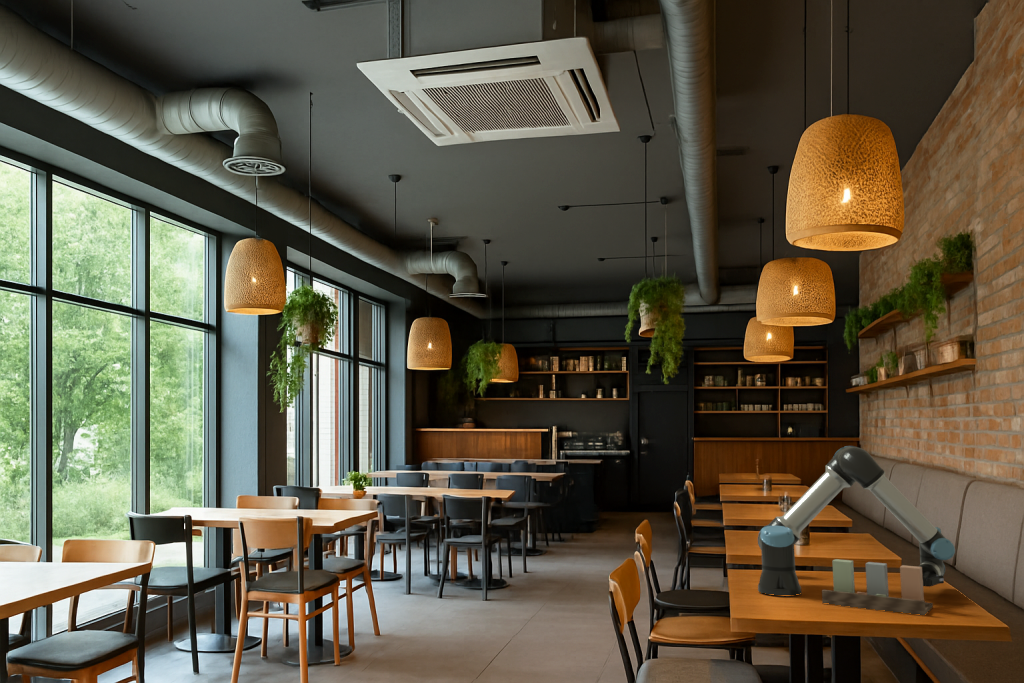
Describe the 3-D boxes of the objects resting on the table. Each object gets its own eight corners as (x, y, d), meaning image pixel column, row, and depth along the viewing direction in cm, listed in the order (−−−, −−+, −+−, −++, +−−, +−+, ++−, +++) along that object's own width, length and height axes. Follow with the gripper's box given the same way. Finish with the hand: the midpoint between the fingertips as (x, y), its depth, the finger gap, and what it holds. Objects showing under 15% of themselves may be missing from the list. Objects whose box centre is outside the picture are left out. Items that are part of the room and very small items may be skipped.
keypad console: (822, 603, 280) (821, 588, 280) (833, 596, 291) (833, 581, 291) (924, 616, 261) (924, 599, 261) (932, 607, 272) (931, 592, 273)
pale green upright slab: (834, 595, 284) (832, 560, 286) (837, 593, 288) (835, 559, 289) (852, 597, 281) (850, 562, 282) (855, 595, 284) (853, 560, 285)
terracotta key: (902, 603, 271) (899, 567, 272) (904, 601, 274) (902, 565, 275) (921, 605, 267) (919, 568, 269) (924, 603, 271) (921, 566, 272)
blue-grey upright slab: (867, 599, 278) (865, 563, 279) (870, 597, 281) (868, 562, 282) (886, 601, 274) (884, 565, 275) (888, 599, 277) (886, 563, 279)
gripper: (948, 586, 288) (937, 599, 269) (908, 582, 295) (894, 594, 276) (947, 565, 288) (935, 575, 269) (906, 561, 296) (893, 572, 277)
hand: (914, 585), depth 273 cm, fingers closed
